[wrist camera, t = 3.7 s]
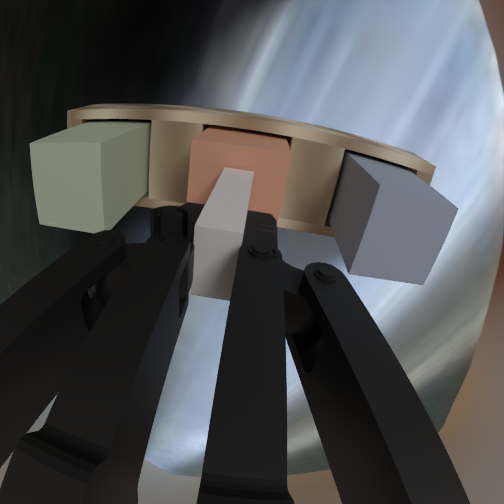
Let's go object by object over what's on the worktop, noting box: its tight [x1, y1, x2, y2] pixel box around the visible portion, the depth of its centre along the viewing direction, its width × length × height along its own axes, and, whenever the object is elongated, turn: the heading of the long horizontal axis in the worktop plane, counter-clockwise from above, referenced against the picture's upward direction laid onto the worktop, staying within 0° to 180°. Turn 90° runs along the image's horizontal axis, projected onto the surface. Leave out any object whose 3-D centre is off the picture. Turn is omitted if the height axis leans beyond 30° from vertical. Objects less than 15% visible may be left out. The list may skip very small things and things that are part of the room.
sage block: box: [30, 121, 152, 233], centre depth 16 cm, size 5×5×7 cm
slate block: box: [327, 151, 458, 285], centre depth 17 cm, size 5×5×7 cm
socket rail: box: [67, 104, 436, 237], centre depth 20 cm, size 26×7×4 cm, turn 81°
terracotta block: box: [187, 125, 292, 222], centre depth 18 cm, size 5×5×7 cm
